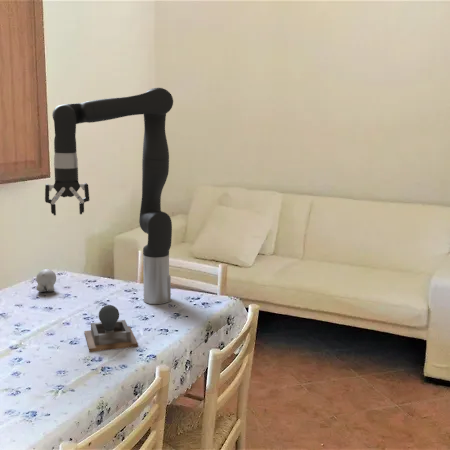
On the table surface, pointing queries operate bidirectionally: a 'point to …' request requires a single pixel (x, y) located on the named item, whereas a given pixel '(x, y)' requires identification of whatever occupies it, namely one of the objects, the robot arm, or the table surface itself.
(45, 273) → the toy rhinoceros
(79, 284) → the table surface
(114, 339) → the socket stand
